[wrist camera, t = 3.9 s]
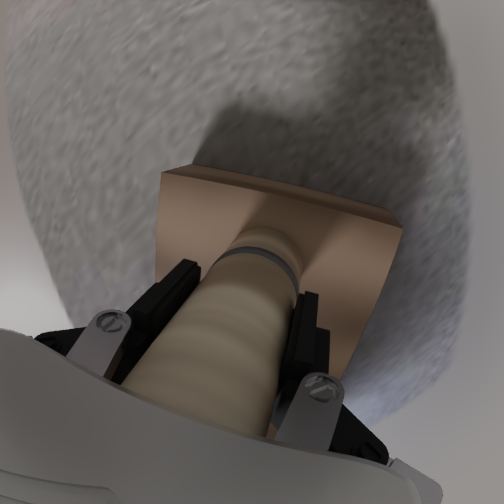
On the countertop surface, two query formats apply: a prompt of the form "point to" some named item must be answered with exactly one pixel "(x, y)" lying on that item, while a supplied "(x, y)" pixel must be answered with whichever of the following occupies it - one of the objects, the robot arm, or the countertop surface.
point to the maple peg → (228, 337)
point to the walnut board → (292, 225)
